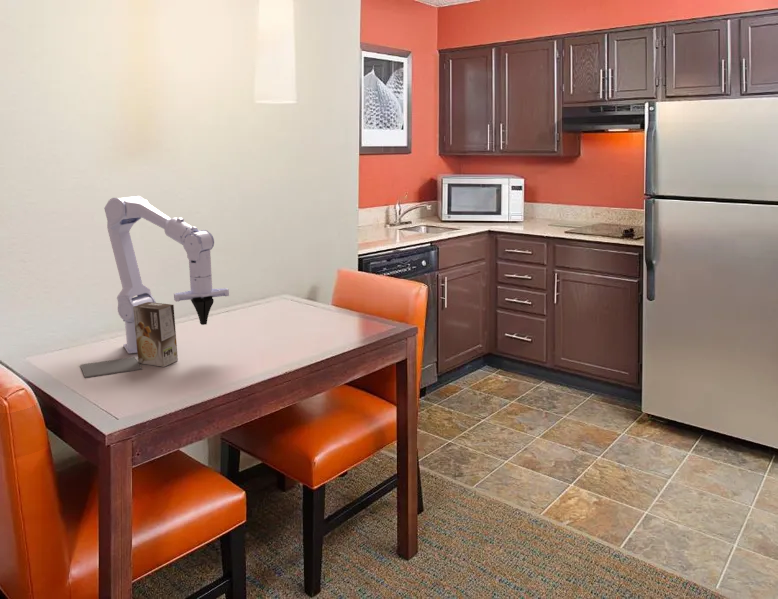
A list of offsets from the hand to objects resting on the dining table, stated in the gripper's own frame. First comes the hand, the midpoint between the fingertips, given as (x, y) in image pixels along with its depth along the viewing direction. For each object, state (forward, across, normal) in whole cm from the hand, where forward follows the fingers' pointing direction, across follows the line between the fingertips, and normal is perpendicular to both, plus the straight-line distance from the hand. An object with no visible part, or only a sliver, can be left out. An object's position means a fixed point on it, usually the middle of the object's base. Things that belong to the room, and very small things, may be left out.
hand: (203, 323), depth 189 cm
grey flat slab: (+10, -24, +4) cm, 27 cm away
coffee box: (+10, -12, +3) cm, 16 cm away
